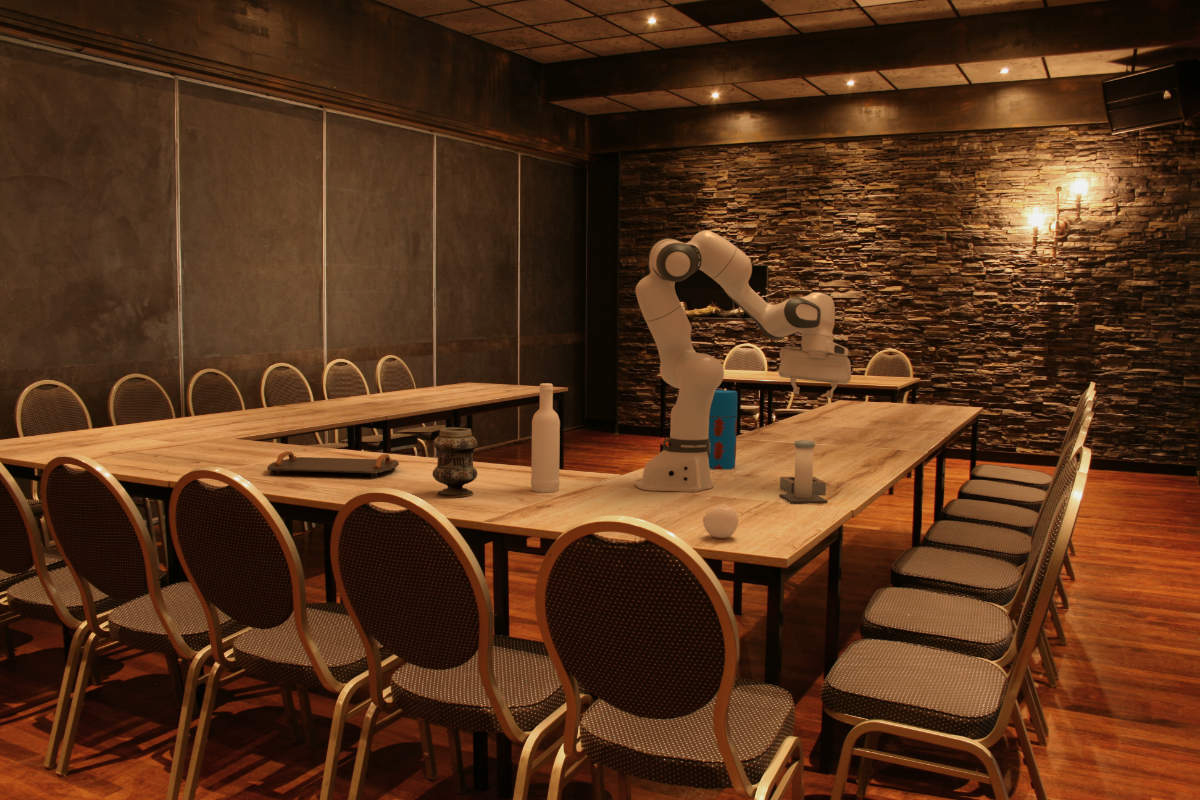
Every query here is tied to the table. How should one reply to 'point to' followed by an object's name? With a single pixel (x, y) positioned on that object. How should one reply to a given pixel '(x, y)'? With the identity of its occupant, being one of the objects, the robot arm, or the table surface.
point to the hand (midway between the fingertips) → (812, 395)
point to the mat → (794, 500)
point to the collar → (788, 482)
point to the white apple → (721, 521)
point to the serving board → (332, 464)
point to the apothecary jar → (455, 461)
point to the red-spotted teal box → (723, 429)
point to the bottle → (545, 444)
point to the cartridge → (803, 469)
